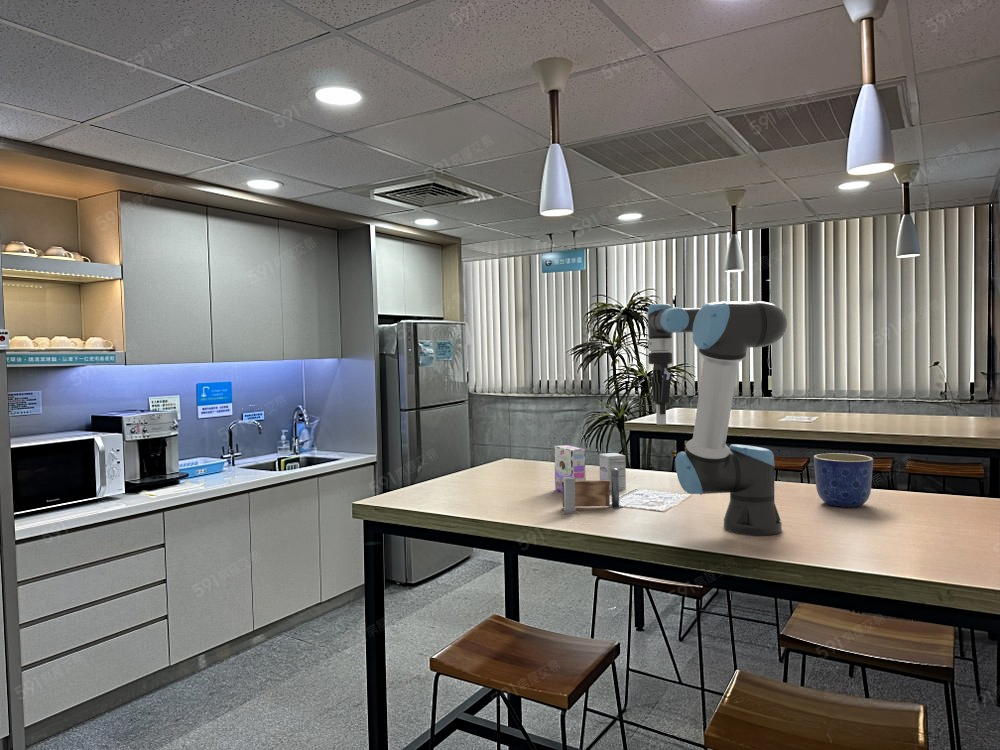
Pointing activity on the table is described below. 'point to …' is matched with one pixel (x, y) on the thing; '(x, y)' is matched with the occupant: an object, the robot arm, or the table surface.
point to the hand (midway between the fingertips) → (661, 424)
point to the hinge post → (615, 489)
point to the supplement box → (611, 462)
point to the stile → (569, 495)
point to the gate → (591, 493)
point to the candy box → (568, 464)
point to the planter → (843, 478)
